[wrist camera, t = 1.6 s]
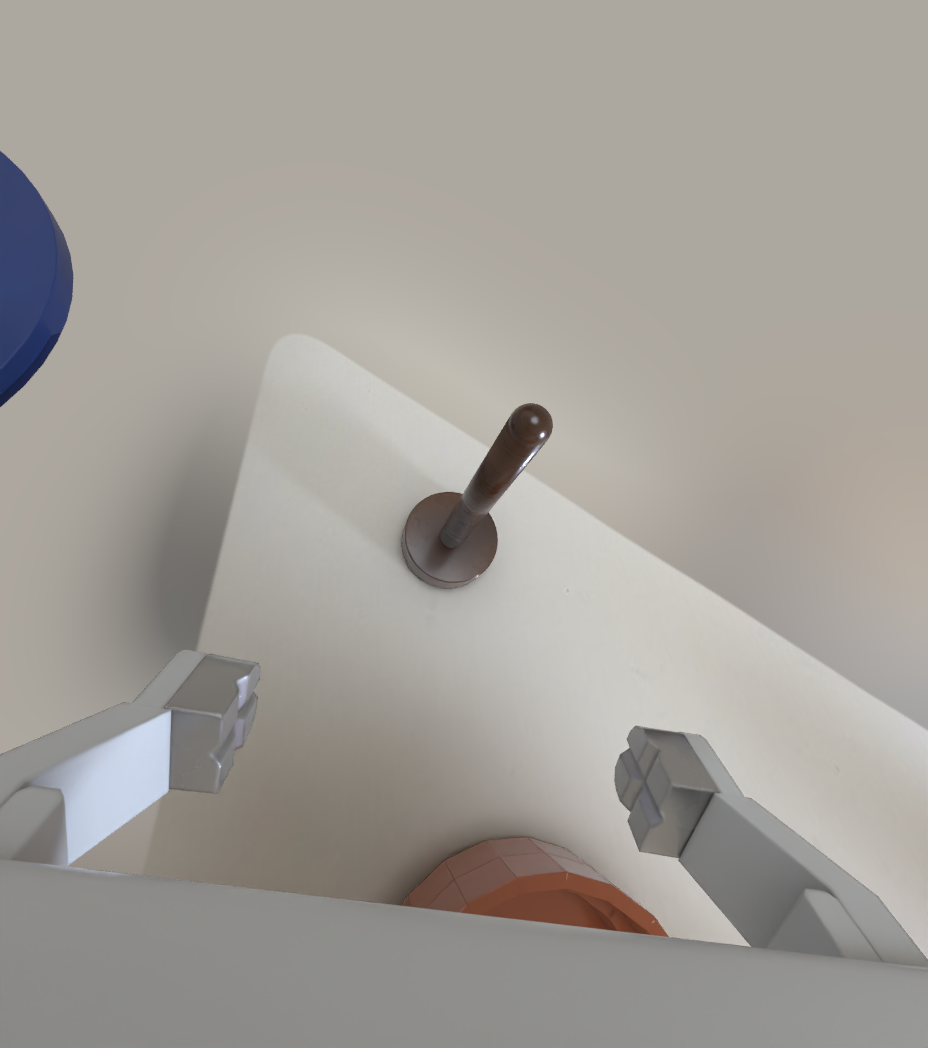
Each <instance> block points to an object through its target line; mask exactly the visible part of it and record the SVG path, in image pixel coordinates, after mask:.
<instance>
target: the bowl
mask: <svg viewBox="0 0 928 1048" xmlns="http://www.w3.org/2000/svg"><path fill="white" fill-rule="evenodd" d="M402 906H408V907H416V908H425V909H433V910H442V911H450V912H459V913H467V914H476V915H484V916H493V917H501V918H510V919H518V920H527V921H535V922H544V923H552V924H561V925H569V926H578V927H587V928H595V929H604V930H612V931H621V932H629V933H638V934H646V935H655V936H663V937H669V936H668V935H667V934H666V932H665V931H664V929H663V928H662V926H661V925H660V924H659V922H658V921H657V919H656V918H655V917H654V916H653V915H652V914H651V913H649V912H648V911H647V910H646V909H644V908H643V907H642V906H640V905H639V904H638V903H636V902H635V901H634V900H633V899H631V898H630V897H629V896H627V895H626V894H625V893H623V892H622V891H621V890H620V889H618V888H617V887H616V886H614V885H613V884H612V883H610V882H609V881H608V880H607V879H605V878H604V877H603V876H601V875H600V874H599V873H597V872H596V871H595V870H594V869H592V868H591V867H590V866H588V865H587V864H586V863H584V862H583V861H582V860H580V859H579V858H578V857H576V856H575V855H574V854H573V853H571V852H570V851H569V850H567V849H565V848H563V847H559V846H556V845H552V844H549V843H546V842H542V841H539V840H536V839H532V838H529V837H519V838H508V839H497V840H486V841H483V842H481V843H479V844H477V845H475V846H473V847H471V848H469V849H467V850H464V851H462V852H460V853H458V854H456V855H454V856H452V857H450V858H448V859H446V860H444V862H442V863H441V864H440V865H439V866H438V867H437V868H436V869H435V870H434V871H433V872H432V873H431V874H430V875H429V876H428V877H427V878H426V879H425V880H424V881H423V882H422V883H420V884H419V885H418V886H417V887H416V888H415V889H414V890H413V891H412V892H411V893H410V894H409V895H408V897H407V898H406V899H405V901H404V902H403V904H402Z"/></svg>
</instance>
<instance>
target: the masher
mask: <svg viewBox="0 0 928 1048" xmlns="http://www.w3.org/2000/svg"><path fill="white" fill-rule="evenodd" d="M552 428H553V423H552V418H551V416H550V414H549V412H548V411H547V410H546V409H545V408H543V407H542V406H540V405H538V404H533V403H529V404H524V405H521V406H519V407H518V408H517V409H515V410H514V412H513V413H512V414H511V416H510V417H509V419H508V421H507V422H506V424H505V426H504V427H503V429H502V430H501V432H500V434H499V435H498V437H497V439H496V440H495V442H494V444H493V446H492V447H491V449H490V450H489V452H488V454H487V455H486V457H485V459H484V460H483V462H482V463H481V465H480V467H479V468H478V470H477V472H476V473H475V475H474V477H473V478H472V480H471V482H470V483H469V485H468V487H467V488H466V490H465V491H464V493H463V494H460V493H454V492H443V493H437V494H434V495H431V496H429V497H427V498H425V499H424V500H422V501H421V502H420V503H418V504H417V505H416V506H415V508H414V509H413V510H412V512H411V513H410V515H409V517H408V520H407V522H406V525H405V528H404V531H403V535H402V551H403V555H404V558H405V560H406V563H407V565H408V566H409V568H410V569H411V570H412V572H413V573H414V574H415V575H416V576H417V577H418V578H420V579H421V580H422V581H424V582H426V583H428V584H430V585H432V586H435V587H439V588H457V587H461V586H464V585H466V584H468V583H470V582H471V581H473V580H474V579H476V578H477V577H478V576H479V575H480V574H482V573H483V572H484V571H485V570H486V569H487V568H488V567H489V565H490V564H491V562H492V561H493V558H494V556H495V553H496V550H497V542H498V538H497V531H496V527H495V524H494V521H493V519H492V517H491V516H490V514H489V513H488V512H489V511H490V509H491V508H492V507H493V506H494V505H495V503H496V502H497V501H498V500H499V498H500V497H501V496H502V495H503V494H504V492H505V491H506V490H507V489H508V488H509V486H510V485H511V484H512V483H513V481H514V480H515V479H516V478H517V477H518V475H519V474H520V473H521V472H522V470H523V469H524V468H525V467H526V465H527V464H528V463H529V462H530V461H531V460H532V458H533V457H534V456H535V455H536V453H537V452H538V451H539V450H540V449H541V447H542V446H543V445H544V444H545V442H546V441H547V440H548V439H549V437H550V435H551V433H552Z"/></svg>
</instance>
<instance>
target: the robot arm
mask: <svg viewBox="0 0 928 1048" xmlns="http://www.w3.org/2000/svg"><path fill="white" fill-rule="evenodd" d="M259 680H260V665H259V663H256V662H251V661H245V660H240V659H235V658H229V657H224V656H219V655H214V654H207V653H201V652H195V651H190V650H182V651H180V652H178V653H177V654H176V655H175V656H174V657H173V658H172V659H171V660H170V661H169V663H168V664H167V665H166V666H165V667H164V668H163V669H162V670H161V671H160V672H159V674H158V675H157V676H156V677H155V678H154V679H153V680H152V681H151V682H150V683H149V685H148V686H147V687H146V688H145V689H144V690H143V691H142V693H141V694H140V695H139V696H138V697H137V698H136V699H135V700H134V701H133V702H132V703H121V704H118V705H116V706H114V707H112V708H109V709H106V710H104V711H102V712H99V713H97V714H95V715H92V716H90V717H87V718H85V719H83V720H80V721H78V722H76V723H73V724H71V725H69V726H66V727H64V728H62V729H59V730H57V731H54V732H52V733H50V734H47V735H45V736H43V737H40V738H38V739H36V740H33V741H31V742H29V743H26V744H24V745H21V746H19V747H17V748H14V749H12V750H10V751H7V752H5V753H2V754H0V1048H928V959H927V958H926V957H925V956H924V954H923V953H922V952H921V951H920V949H919V948H918V947H917V945H916V944H915V943H914V942H913V940H912V939H911V938H910V937H909V935H908V934H907V933H906V931H905V930H904V929H903V928H902V926H901V925H900V924H899V923H898V921H897V920H896V919H895V917H894V916H893V915H892V914H891V912H890V911H889V910H888V909H887V907H886V906H885V905H884V903H883V902H882V901H881V900H880V898H879V897H878V896H877V895H875V894H874V893H873V892H872V891H870V890H869V889H868V888H866V887H865V886H864V885H863V884H861V883H860V882H859V881H857V880H856V879H855V878H854V877H852V876H851V875H850V874H848V873H847V872H846V871H845V870H843V869H842V868H841V867H839V866H838V865H837V864H836V863H834V862H833V861H832V860H830V859H829V858H828V857H827V856H825V855H824V854H823V853H821V852H820V851H819V850H818V849H816V848H815V847H814V846H812V845H811V844H810V843H808V842H807V841H806V840H805V839H803V838H802V837H801V836H799V835H798V834H797V833H796V832H794V831H793V830H792V829H790V828H789V827H788V826H787V825H785V824H784V823H783V822H781V821H780V820H779V819H778V818H776V817H775V816H774V815H772V814H771V813H770V812H769V811H767V810H766V809H765V808H763V807H762V806H761V805H760V804H758V803H757V802H756V801H754V800H753V799H752V798H747V797H744V795H743V794H742V792H741V791H740V789H739V788H738V786H737V785H736V783H735V782H734V780H733V779H732V777H731V776H730V774H729V773H728V771H727V770H726V768H725V767H724V765H723V764H722V762H721V761H720V759H719V758H718V756H717V755H716V753H715V752H714V750H713V749H712V747H711V746H710V744H709V743H708V741H707V740H706V739H705V738H704V737H702V736H701V735H698V734H690V733H683V732H672V731H666V730H660V729H654V728H647V727H641V726H635V727H634V728H633V729H632V730H631V731H630V733H629V735H628V737H627V742H628V744H629V747H630V748H629V749H628V750H626V751H625V752H623V753H622V754H620V756H619V758H618V761H617V764H616V766H615V786H616V791H617V794H618V797H619V800H620V802H621V803H622V804H623V805H624V806H625V807H626V808H627V809H628V810H629V811H630V812H631V813H630V815H629V818H628V823H629V826H630V829H631V831H632V834H633V836H634V839H635V842H636V844H637V847H638V849H639V852H645V853H651V854H657V855H663V856H669V857H675V858H679V860H678V861H679V862H680V863H681V864H682V865H683V866H684V868H685V869H686V870H687V871H688V872H689V874H690V875H691V876H692V877H693V878H694V879H695V881H696V882H697V883H698V884H699V885H700V887H701V888H702V889H703V890H704V891H705V892H706V894H707V895H708V896H709V897H710V898H711V900H712V901H713V902H714V903H715V904H716V905H717V907H718V908H719V909H720V910H721V911H722V913H723V914H724V915H725V916H726V917H727V918H728V920H729V921H730V922H731V923H732V924H733V926H734V927H735V928H736V929H737V930H738V931H739V933H740V934H741V935H742V936H743V937H744V939H745V940H746V941H747V942H748V943H749V944H750V946H751V947H748V946H739V945H731V944H722V943H714V942H706V941H697V940H689V939H680V938H672V937H663V936H655V935H646V934H638V933H629V932H621V931H612V930H604V929H595V928H587V927H578V926H569V925H561V924H552V923H544V922H535V921H527V920H518V919H510V918H501V917H493V916H484V915H476V914H467V913H459V912H450V911H442V910H433V909H425V908H416V907H408V906H399V905H391V904H382V903H374V902H365V901H357V900H348V899H340V898H331V897H323V896H314V895H306V894H297V893H289V892H280V891H272V890H263V889H255V888H246V887H238V886H229V885H221V884H212V883H203V882H195V881H186V880H178V879H169V878H161V877H152V876H144V875H135V874H127V873H118V872H110V871H101V870H93V869H84V868H75V867H69V864H71V863H72V862H74V861H75V860H76V859H77V858H79V857H80V856H82V855H83V854H85V853H86V852H87V851H88V850H90V849H91V848H93V847H94V846H95V845H96V844H98V843H99V842H101V841H102V840H103V839H105V838H106V837H108V836H109V835H110V834H112V833H113V832H114V831H116V830H117V829H119V828H120V827H121V826H123V825H124V824H125V823H127V822H128V821H129V820H131V819H132V818H134V817H135V816H136V815H138V814H139V813H140V812H142V811H143V810H144V809H146V808H147V807H149V806H150V805H151V804H152V803H154V802H155V801H157V800H158V799H159V798H161V797H162V796H164V795H165V794H166V793H168V792H169V789H176V790H185V791H195V792H204V793H213V794H218V792H219V790H220V788H221V787H222V785H223V783H224V781H225V779H226V777H227V775H228V773H229V771H230V769H231V768H232V766H233V761H234V751H235V750H237V749H238V748H240V747H242V746H243V745H244V743H245V740H246V738H247V736H248V734H249V732H250V729H251V726H252V723H253V721H254V717H255V712H256V708H257V700H258V697H257V696H256V694H255V693H254V689H255V687H256V685H257V683H258V682H259Z"/></svg>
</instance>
